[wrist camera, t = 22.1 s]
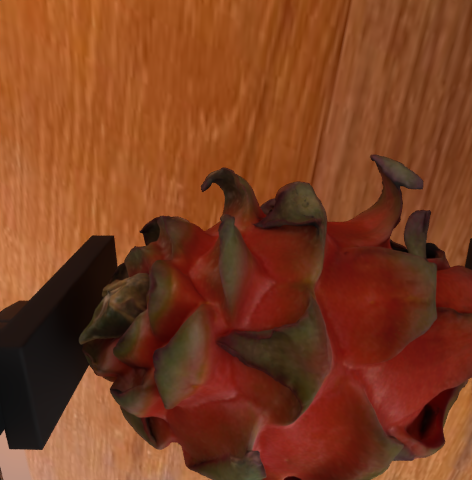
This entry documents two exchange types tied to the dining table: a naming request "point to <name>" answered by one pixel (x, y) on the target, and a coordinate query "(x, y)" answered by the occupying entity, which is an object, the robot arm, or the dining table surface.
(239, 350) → the dragon fruit
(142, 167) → the dining table surface
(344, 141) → the dining table surface
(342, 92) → the dining table surface
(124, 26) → the dining table surface
